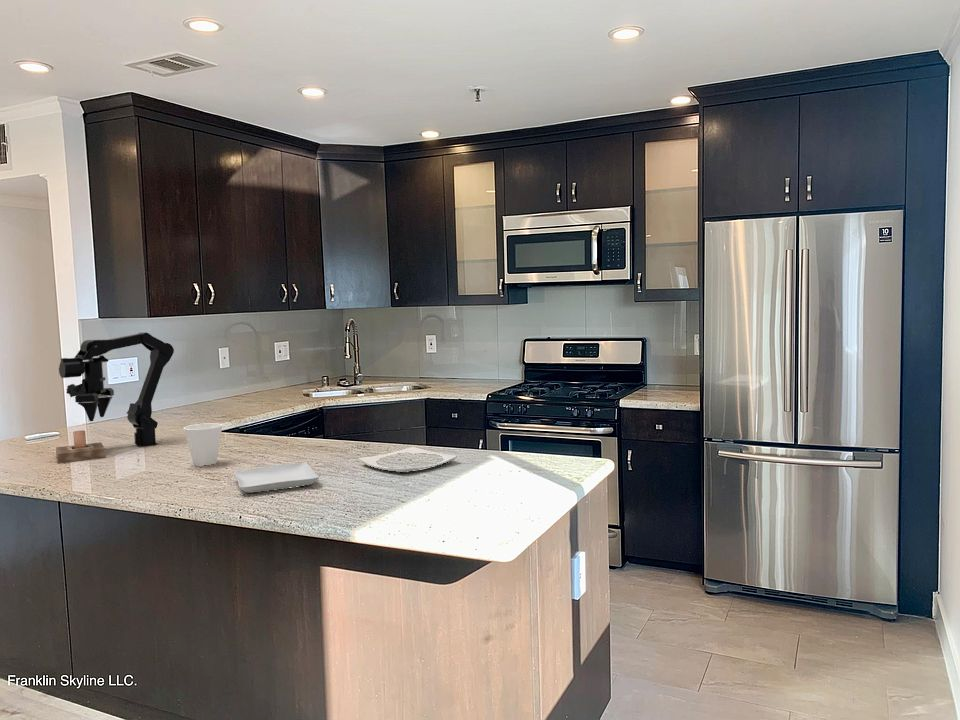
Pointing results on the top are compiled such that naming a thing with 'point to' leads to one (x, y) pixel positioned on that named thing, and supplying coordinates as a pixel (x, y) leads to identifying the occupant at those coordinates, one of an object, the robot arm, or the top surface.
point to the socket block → (80, 453)
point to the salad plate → (275, 477)
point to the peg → (79, 439)
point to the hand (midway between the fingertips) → (96, 419)
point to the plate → (372, 460)
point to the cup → (203, 442)
